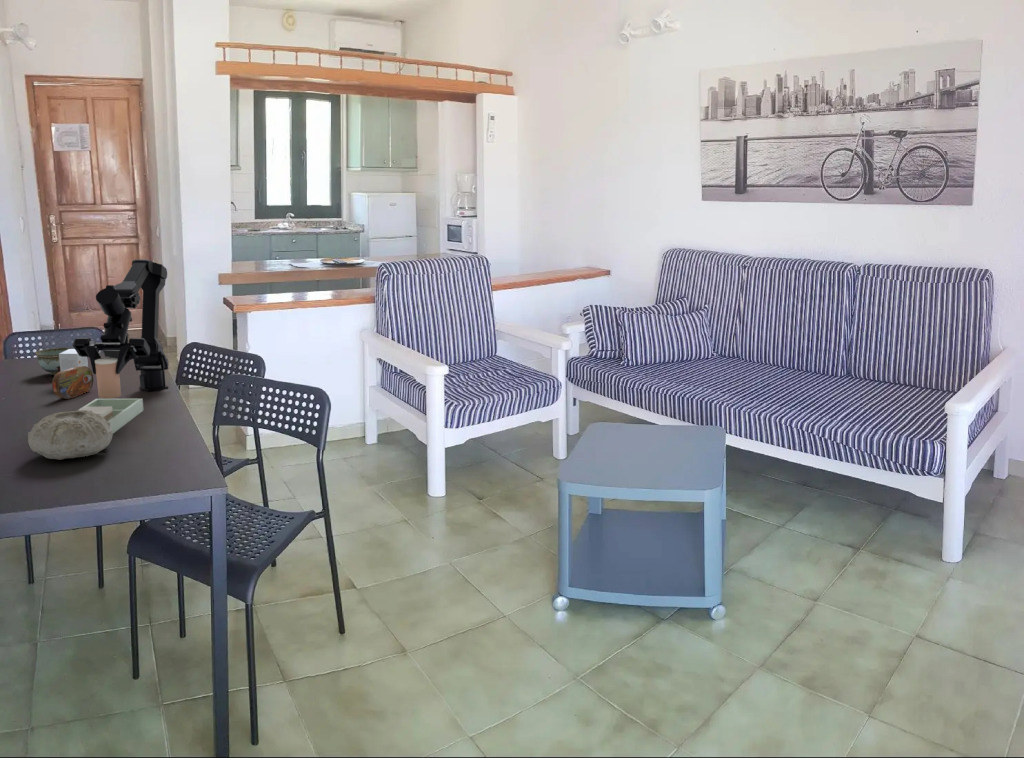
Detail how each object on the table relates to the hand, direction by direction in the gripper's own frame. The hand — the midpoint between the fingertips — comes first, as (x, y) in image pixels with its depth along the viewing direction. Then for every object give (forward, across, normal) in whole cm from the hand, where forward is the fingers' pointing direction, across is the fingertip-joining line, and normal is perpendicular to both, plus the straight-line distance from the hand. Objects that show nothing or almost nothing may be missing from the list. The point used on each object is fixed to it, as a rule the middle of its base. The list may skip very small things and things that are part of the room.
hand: (105, 373), depth 226 cm
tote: (+13, 0, -6) cm, 14 cm away
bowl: (-30, +37, -50) cm, 69 cm away
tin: (-10, +21, -29) cm, 37 cm away
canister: (+4, 0, -6) cm, 7 cm away
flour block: (+16, 0, -1) cm, 16 cm away
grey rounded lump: (+31, -3, +12) cm, 33 cm away
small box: (-21, +27, -40) cm, 53 cm away
